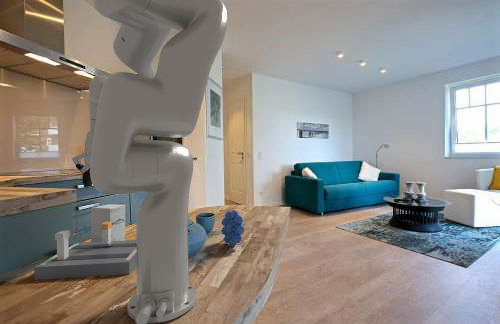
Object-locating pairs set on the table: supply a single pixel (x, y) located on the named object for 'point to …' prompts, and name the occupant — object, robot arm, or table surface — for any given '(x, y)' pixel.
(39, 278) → the switch panel
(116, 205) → the supplement box
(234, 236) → the grapes
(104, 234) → the lever
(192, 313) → the table surface
